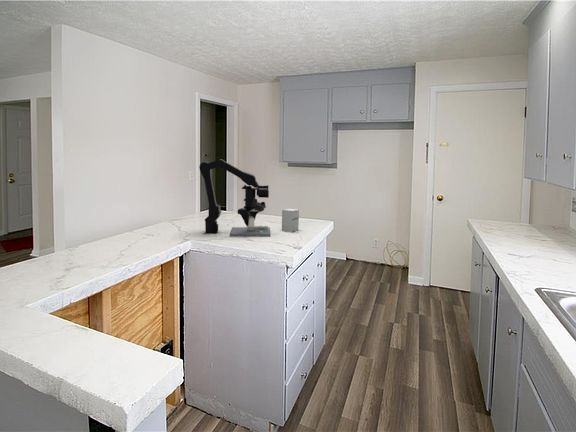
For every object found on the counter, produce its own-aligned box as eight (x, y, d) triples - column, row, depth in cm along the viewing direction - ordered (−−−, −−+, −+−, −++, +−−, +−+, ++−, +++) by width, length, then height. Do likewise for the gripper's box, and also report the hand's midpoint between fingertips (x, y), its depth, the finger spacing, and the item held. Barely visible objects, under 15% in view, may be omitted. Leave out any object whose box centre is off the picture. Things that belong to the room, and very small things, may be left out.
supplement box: (291, 232, 212) (291, 210, 209) (281, 230, 216) (281, 209, 214) (298, 230, 218) (299, 209, 215) (288, 228, 222) (289, 207, 220)
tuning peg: (247, 231, 205) (247, 218, 203) (245, 229, 210) (245, 216, 209) (269, 230, 208) (269, 217, 207) (266, 228, 214) (266, 215, 212)
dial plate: (229, 236, 199) (229, 231, 199) (232, 229, 216) (232, 225, 215) (270, 236, 201) (270, 231, 200) (269, 229, 217) (269, 225, 217)
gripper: (255, 200, 193) (255, 229, 196) (270, 196, 210) (269, 223, 213) (237, 198, 197) (236, 227, 200) (253, 194, 214) (252, 221, 217)
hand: (249, 224), depth 208 cm, fingers closed on tuning peg, 6 cm apart
